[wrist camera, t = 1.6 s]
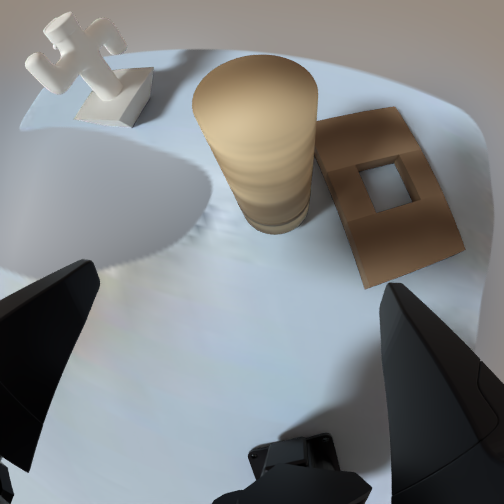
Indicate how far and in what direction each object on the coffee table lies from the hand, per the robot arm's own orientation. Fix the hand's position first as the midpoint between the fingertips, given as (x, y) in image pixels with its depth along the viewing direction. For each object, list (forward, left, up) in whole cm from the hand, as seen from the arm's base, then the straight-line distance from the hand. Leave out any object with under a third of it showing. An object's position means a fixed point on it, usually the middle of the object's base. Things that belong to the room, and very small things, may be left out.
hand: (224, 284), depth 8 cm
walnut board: (+6, -12, -14) cm, 19 cm away
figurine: (+24, +9, -14) cm, 29 cm away
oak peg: (+7, -3, -14) cm, 16 cm away
